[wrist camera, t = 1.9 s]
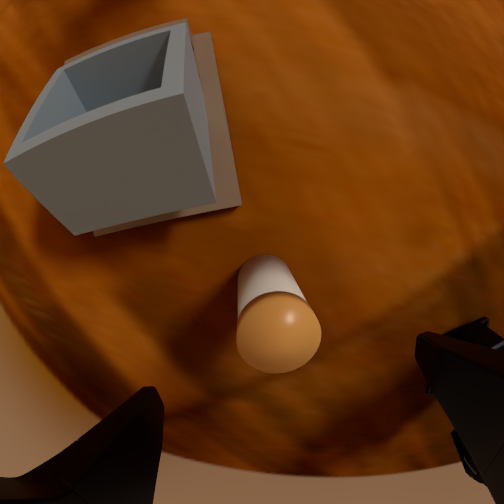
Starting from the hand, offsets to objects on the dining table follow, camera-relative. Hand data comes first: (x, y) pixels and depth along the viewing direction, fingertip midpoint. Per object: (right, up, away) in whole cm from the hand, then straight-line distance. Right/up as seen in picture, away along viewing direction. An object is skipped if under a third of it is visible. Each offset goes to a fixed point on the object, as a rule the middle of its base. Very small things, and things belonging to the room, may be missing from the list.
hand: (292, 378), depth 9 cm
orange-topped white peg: (-1, +2, +9) cm, 9 cm away
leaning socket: (-7, +11, +7) cm, 15 cm away
